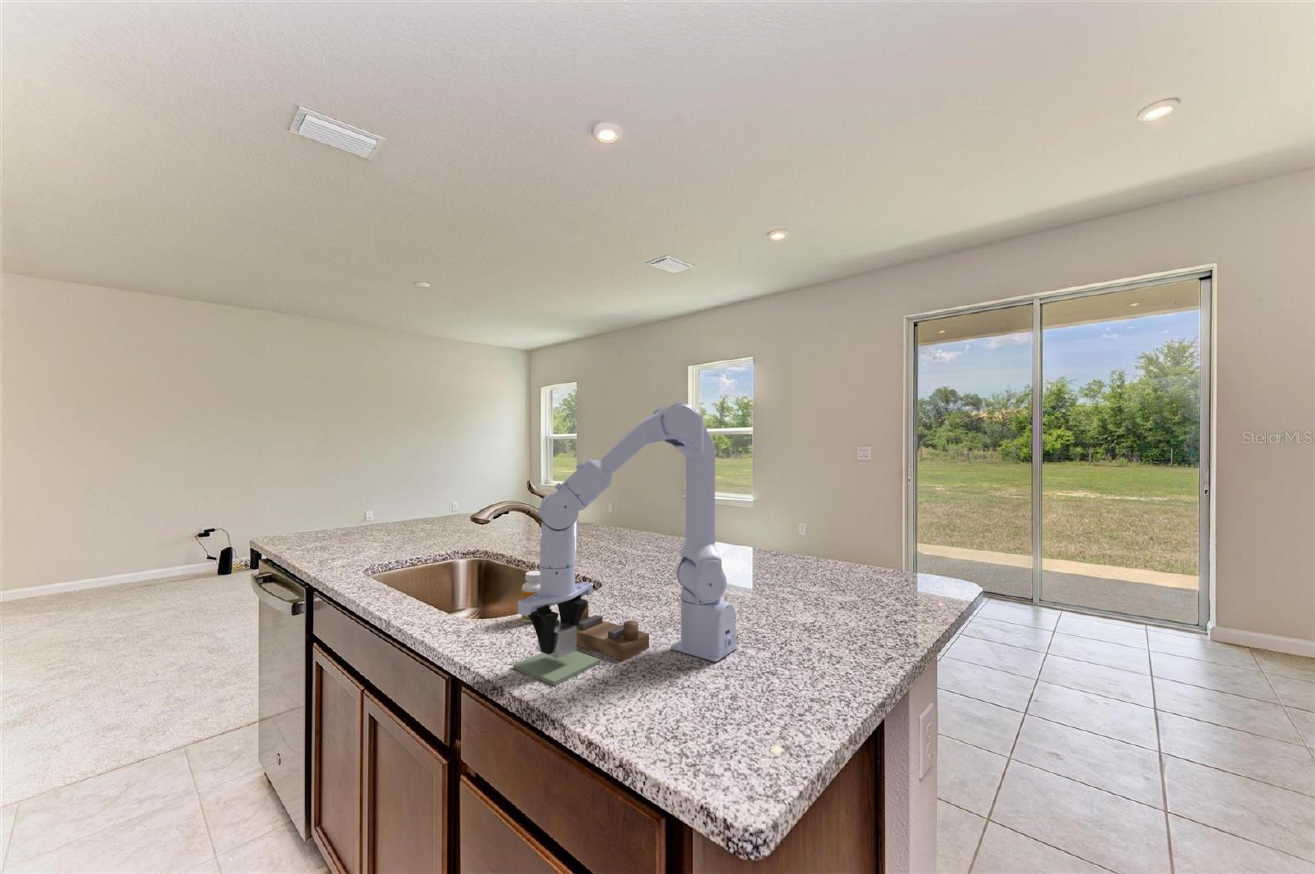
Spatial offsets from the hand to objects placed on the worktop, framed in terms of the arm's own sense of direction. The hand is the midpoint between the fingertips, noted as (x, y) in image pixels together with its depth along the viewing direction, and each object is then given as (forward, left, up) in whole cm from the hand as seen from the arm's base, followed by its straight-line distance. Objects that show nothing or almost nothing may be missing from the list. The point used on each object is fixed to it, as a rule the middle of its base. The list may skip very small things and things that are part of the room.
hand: (557, 647), depth 83 cm
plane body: (0, -12, -3) cm, 12 cm away
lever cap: (0, 0, 0) cm, 0 cm away
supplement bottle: (+21, -13, -3) cm, 25 cm away
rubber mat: (0, 0, -3) cm, 3 cm away
